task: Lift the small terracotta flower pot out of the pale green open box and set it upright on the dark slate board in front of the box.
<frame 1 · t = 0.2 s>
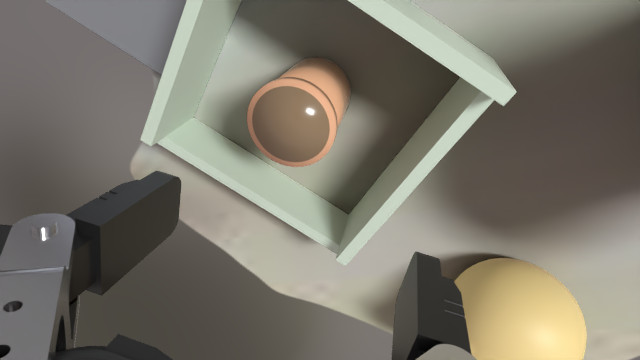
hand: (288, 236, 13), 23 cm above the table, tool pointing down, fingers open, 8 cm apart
terracotta pot: (304, 107, 31), in the pale green open box
sculpture: (498, 288, 40), on the table
pale green open box: (316, 92, 34), on the table
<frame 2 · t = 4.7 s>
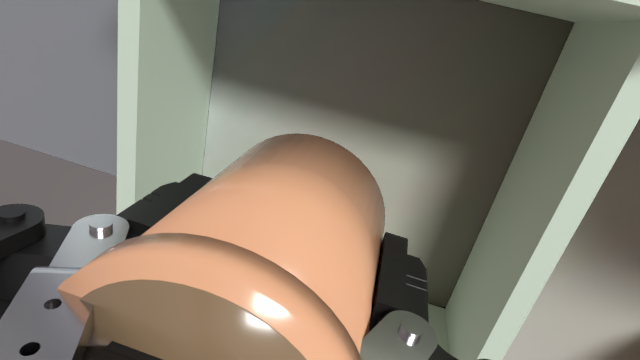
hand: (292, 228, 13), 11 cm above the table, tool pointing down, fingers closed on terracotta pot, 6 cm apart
terracotta pot: (265, 277, 11), point 14 cm above the table, touching gripper
slate board: (82, 70, 26), on the table
pale green open box: (347, 145, 23), on the table
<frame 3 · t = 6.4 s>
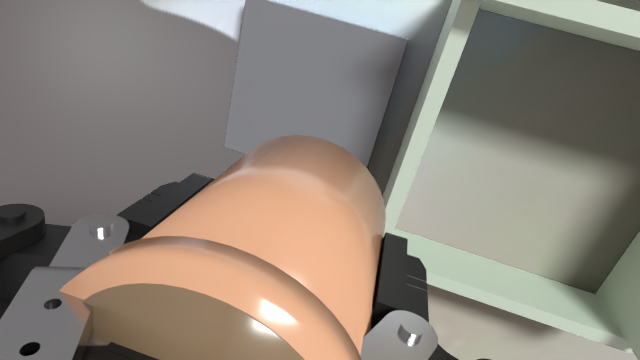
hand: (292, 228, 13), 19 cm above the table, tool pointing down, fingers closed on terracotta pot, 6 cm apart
terracotta pot: (265, 279, 11), point 22 cm above the table, touching gripper
slate board: (311, 95, 31), on the table
pale green open box: (536, 163, 29), on the table
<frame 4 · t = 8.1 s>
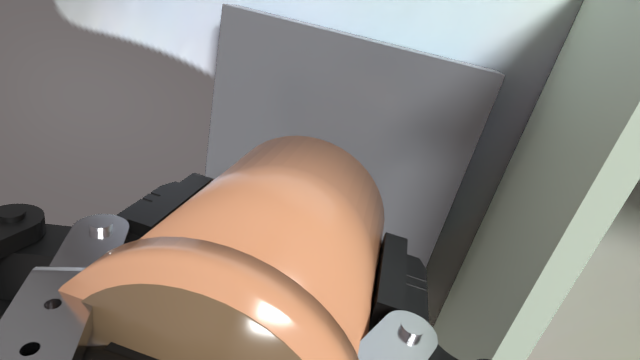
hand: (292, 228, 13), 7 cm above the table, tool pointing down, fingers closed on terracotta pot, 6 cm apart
terracotta pot: (264, 280, 11), point 10 cm above the table, touching gripper
slate board: (331, 159, 20), on the table
when the fingers open (4 cm above the table, at t = 9.6 s): terracotta pot drops 1 cm, resting on slate board.
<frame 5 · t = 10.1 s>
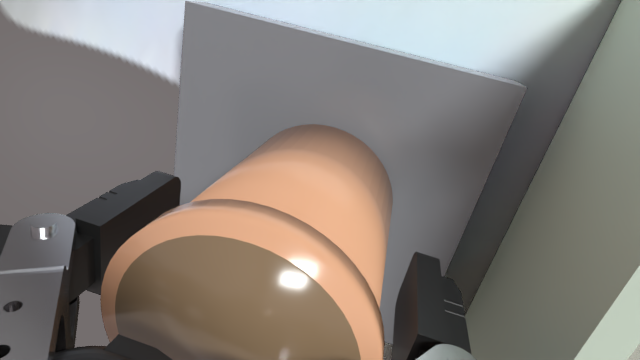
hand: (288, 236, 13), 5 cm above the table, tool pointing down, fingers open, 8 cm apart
terracotta pot: (286, 251, 12), on the slate board, point 6 cm above the table
slate board: (319, 182, 17), on the table
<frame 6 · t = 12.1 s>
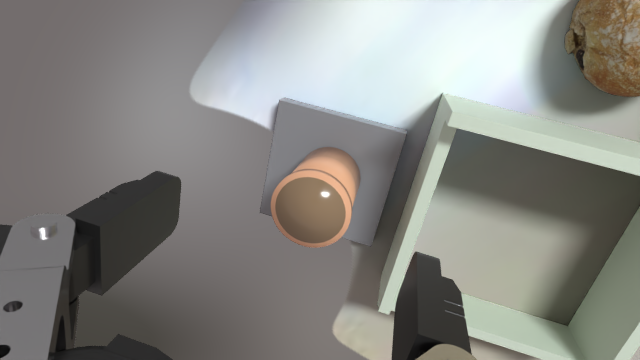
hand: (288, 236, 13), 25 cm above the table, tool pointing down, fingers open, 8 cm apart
terracotta pot: (320, 192, 34), on the slate board, point 6 cm above the table
bread roll: (638, 20, 30), on the table
slate board: (330, 171, 39), on the table
pale green open box: (512, 223, 37), on the table
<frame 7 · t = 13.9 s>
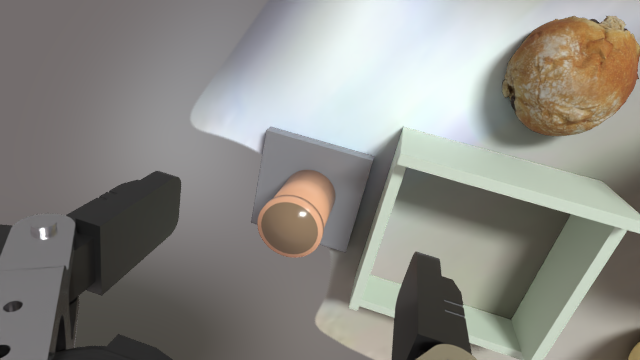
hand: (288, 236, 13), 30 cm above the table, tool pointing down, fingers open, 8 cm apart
terracotta pot: (300, 210, 41), on the slate board, point 6 cm above the table
bread roll: (561, 72, 36), on the table
slate board: (310, 188, 46), on the table
pale green open box: (463, 234, 44), on the table
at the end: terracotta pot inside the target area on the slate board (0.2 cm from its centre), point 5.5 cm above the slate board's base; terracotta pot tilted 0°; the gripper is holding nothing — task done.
